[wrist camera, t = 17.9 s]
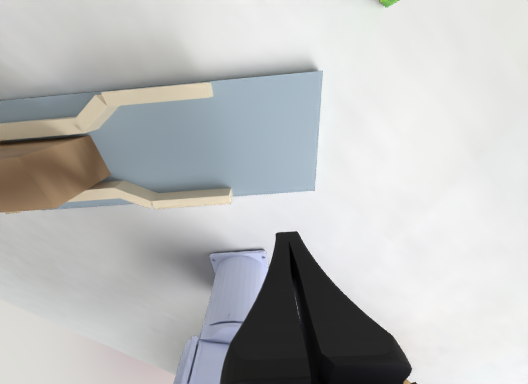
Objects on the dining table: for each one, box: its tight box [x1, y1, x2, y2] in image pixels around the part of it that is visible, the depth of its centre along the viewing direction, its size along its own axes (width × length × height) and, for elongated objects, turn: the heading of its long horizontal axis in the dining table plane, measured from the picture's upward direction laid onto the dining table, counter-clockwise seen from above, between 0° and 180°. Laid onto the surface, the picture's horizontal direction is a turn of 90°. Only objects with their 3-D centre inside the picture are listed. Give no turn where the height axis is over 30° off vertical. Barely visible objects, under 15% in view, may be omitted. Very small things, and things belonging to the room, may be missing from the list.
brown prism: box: [0, 135, 111, 212], centre depth 16 cm, size 4×8×6 cm, turn 95°
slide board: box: [0, 71, 323, 214], centre depth 17 cm, size 11×31×4 cm, turn 94°
